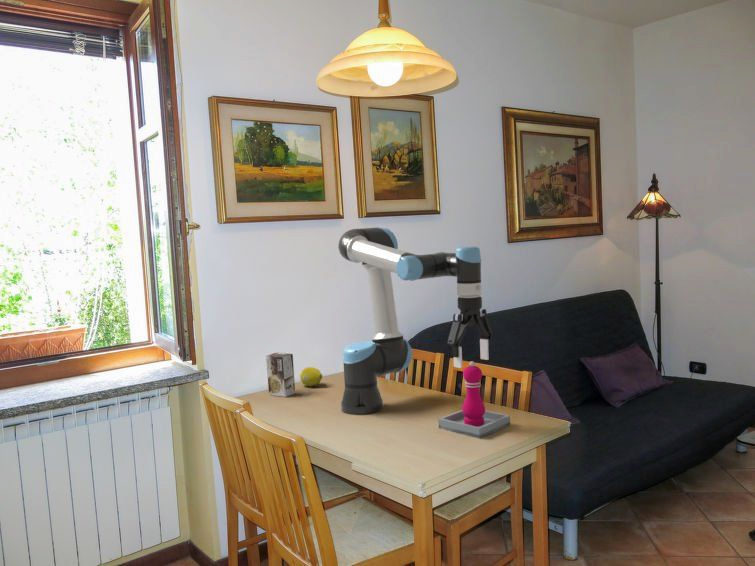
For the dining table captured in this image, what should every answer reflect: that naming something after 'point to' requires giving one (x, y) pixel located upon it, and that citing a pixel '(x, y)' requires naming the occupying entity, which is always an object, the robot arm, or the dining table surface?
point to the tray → (490, 425)
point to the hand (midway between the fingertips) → (471, 363)
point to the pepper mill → (473, 396)
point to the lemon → (310, 376)
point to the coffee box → (280, 374)
